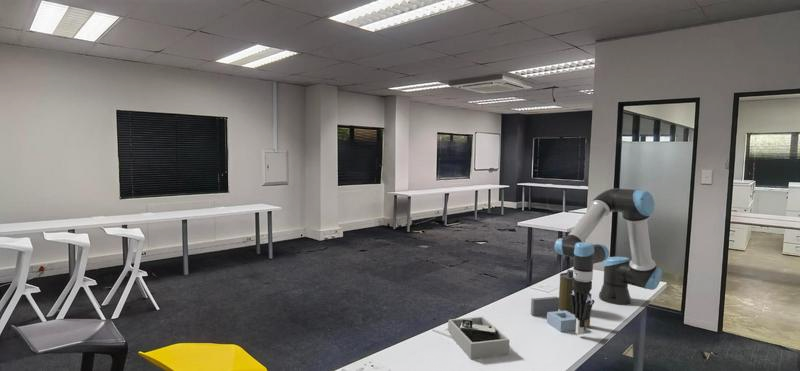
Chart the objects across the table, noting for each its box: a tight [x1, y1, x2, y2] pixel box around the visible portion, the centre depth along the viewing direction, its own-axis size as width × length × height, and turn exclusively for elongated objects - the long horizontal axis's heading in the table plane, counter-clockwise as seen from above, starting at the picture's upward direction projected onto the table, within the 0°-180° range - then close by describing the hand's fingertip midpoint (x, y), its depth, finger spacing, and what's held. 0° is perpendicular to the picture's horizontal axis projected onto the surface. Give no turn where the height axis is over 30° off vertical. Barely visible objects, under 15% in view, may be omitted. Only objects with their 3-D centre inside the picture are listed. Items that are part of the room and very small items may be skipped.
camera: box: [460, 317, 497, 342], centre depth 168 cm, size 15×8×10 cm, turn 71°
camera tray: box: [447, 316, 510, 360], centre depth 168 cm, size 16×23×6 cm
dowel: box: [584, 293, 592, 329], centre depth 187 cm, size 4×4×15 cm
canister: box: [558, 269, 574, 314], centre depth 207 cm, size 11×10×20 cm
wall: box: [530, 296, 560, 317], centre depth 200 cm, size 14×2×8 cm, turn 105°
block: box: [546, 310, 576, 333], centre depth 187 cm, size 10×10×5 cm
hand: (579, 333), depth 176 cm, fingers closed
